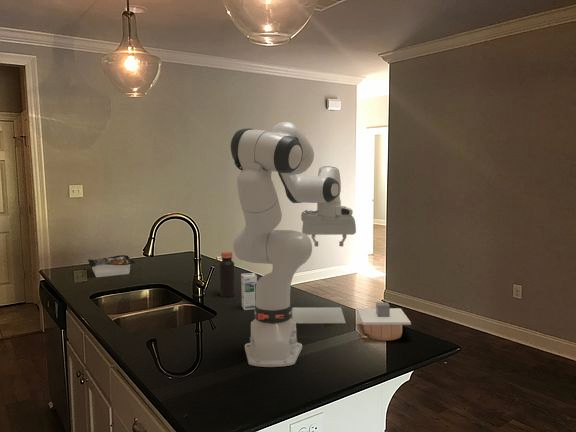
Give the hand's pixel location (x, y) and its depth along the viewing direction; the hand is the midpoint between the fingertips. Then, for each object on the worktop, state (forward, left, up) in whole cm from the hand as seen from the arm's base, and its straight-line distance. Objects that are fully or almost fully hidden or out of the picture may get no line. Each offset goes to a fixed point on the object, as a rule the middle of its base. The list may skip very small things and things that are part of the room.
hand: (328, 246), depth 184 cm
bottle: (+37, +44, -29) cm, 64 cm away
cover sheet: (-15, -18, -23) cm, 33 cm away
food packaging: (+86, +117, -29) cm, 148 cm away
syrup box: (+17, +32, -29) cm, 46 cm away
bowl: (-15, -18, -29) cm, 37 cm away
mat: (+4, +4, -29) cm, 29 cm away
